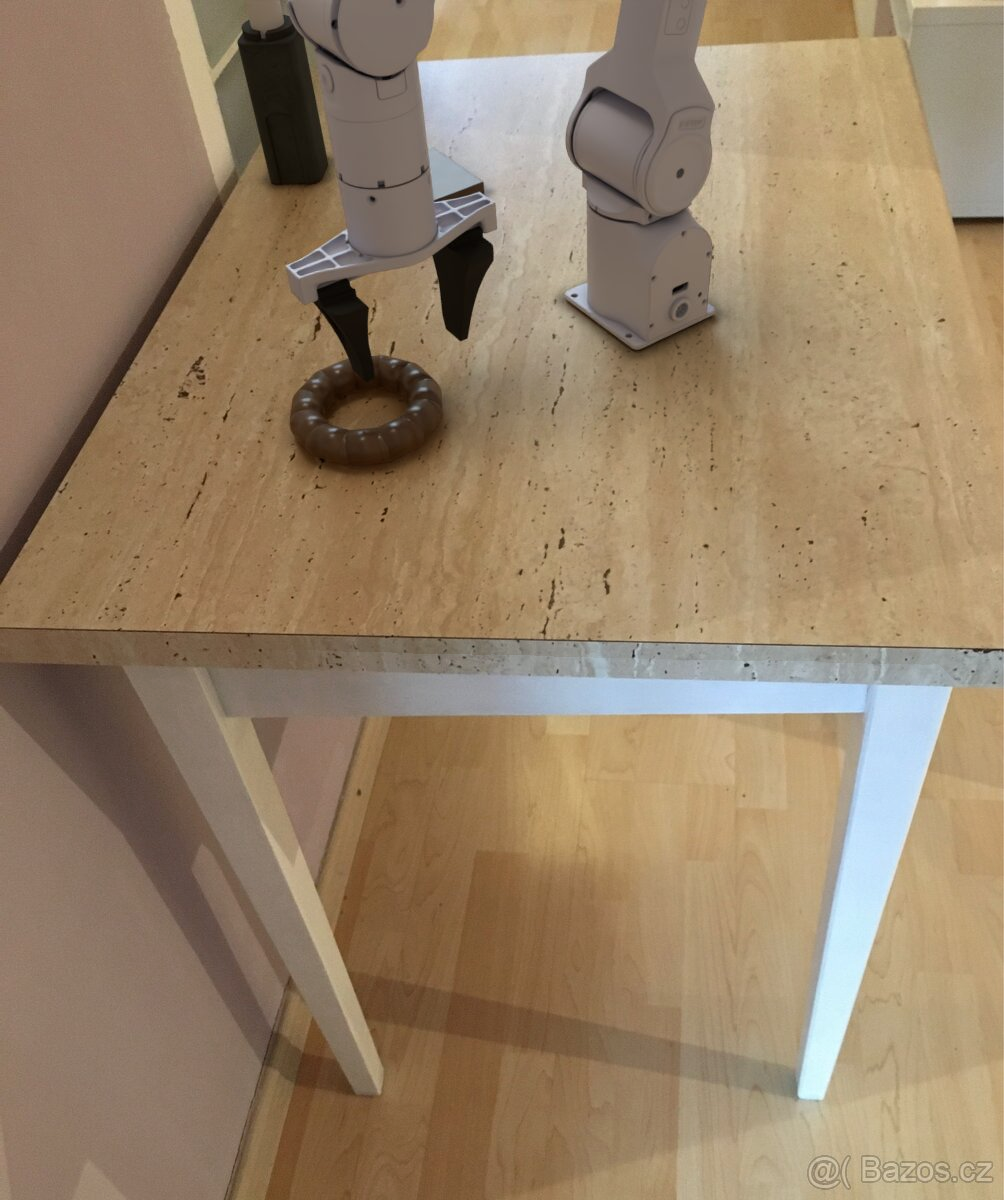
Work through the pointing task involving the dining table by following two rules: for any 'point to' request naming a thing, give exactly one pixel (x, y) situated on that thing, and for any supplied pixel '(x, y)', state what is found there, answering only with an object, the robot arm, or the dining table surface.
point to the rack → (451, 178)
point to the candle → (282, 95)
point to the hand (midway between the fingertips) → (411, 353)
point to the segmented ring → (374, 441)
